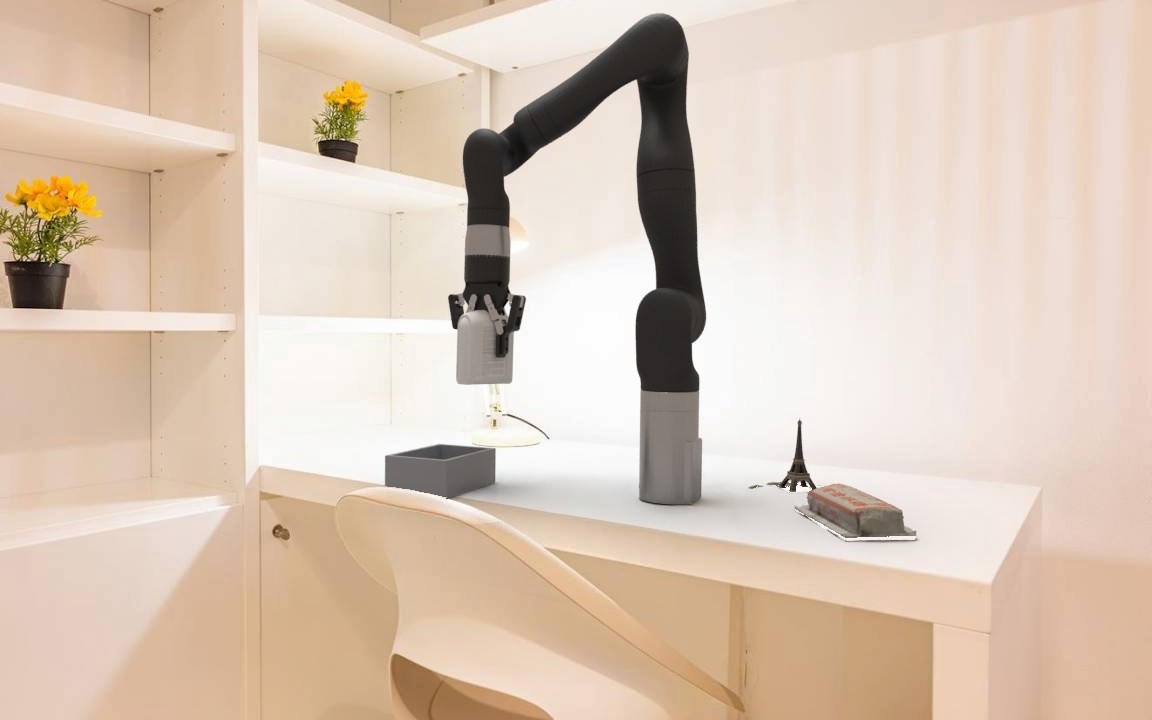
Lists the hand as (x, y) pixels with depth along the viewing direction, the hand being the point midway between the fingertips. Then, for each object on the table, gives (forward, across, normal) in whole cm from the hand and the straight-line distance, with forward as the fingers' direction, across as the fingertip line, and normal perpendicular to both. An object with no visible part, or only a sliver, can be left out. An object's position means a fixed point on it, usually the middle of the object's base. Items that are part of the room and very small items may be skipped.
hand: (485, 356), depth 134 cm
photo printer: (+5, 0, 0) cm, 5 cm away
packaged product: (+22, -59, -1) cm, 63 cm away
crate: (+22, +6, +3) cm, 23 cm away
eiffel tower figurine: (+22, -48, -24) cm, 58 cm away
